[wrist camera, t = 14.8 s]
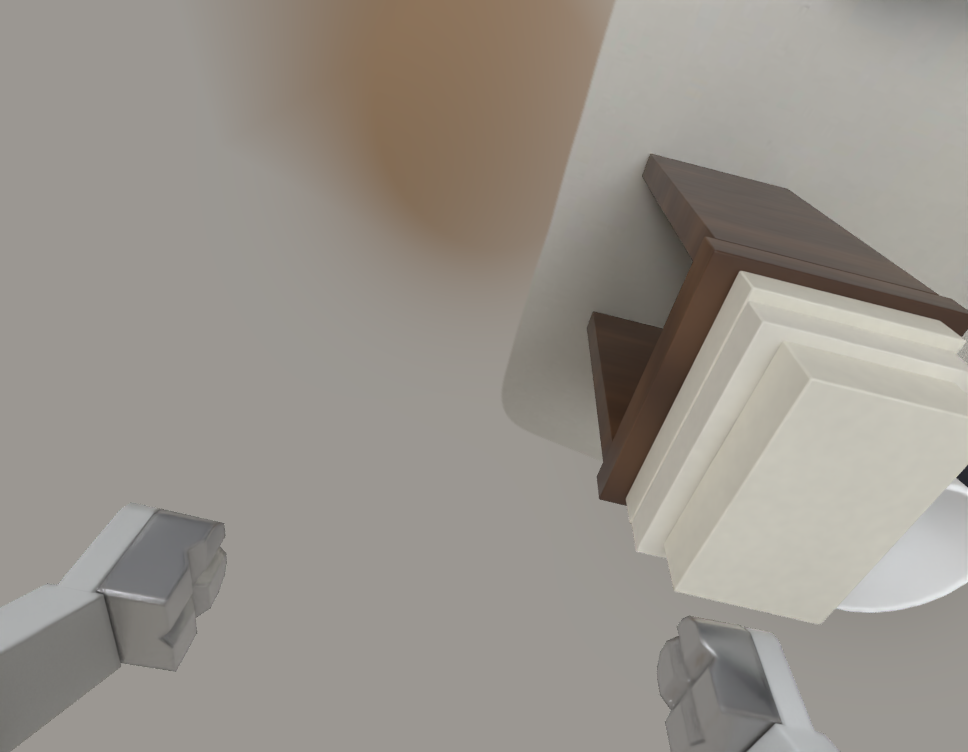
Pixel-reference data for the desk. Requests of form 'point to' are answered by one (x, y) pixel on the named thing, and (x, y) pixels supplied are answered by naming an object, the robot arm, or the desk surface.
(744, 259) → the walnut shelf
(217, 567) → the robot arm
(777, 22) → the desk surface
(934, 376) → the white books
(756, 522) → the ivory book
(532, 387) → the desk surface
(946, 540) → the cup
